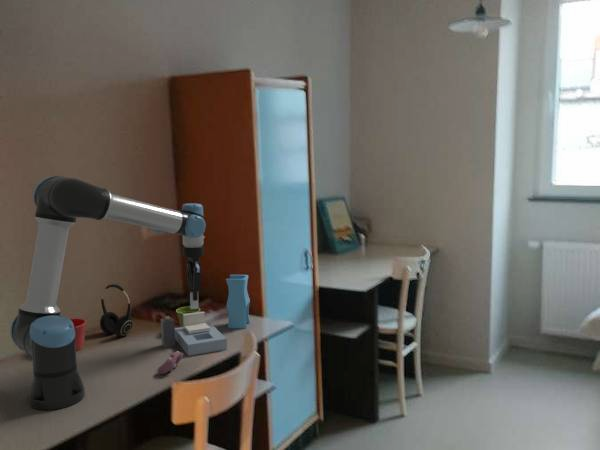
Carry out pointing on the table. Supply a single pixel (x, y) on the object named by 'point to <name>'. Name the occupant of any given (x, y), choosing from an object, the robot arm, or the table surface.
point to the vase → (238, 301)
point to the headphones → (116, 318)
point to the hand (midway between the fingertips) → (194, 308)
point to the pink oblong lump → (170, 363)
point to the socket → (201, 341)
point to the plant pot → (185, 311)
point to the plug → (167, 332)
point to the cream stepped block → (195, 322)
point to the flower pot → (79, 332)
